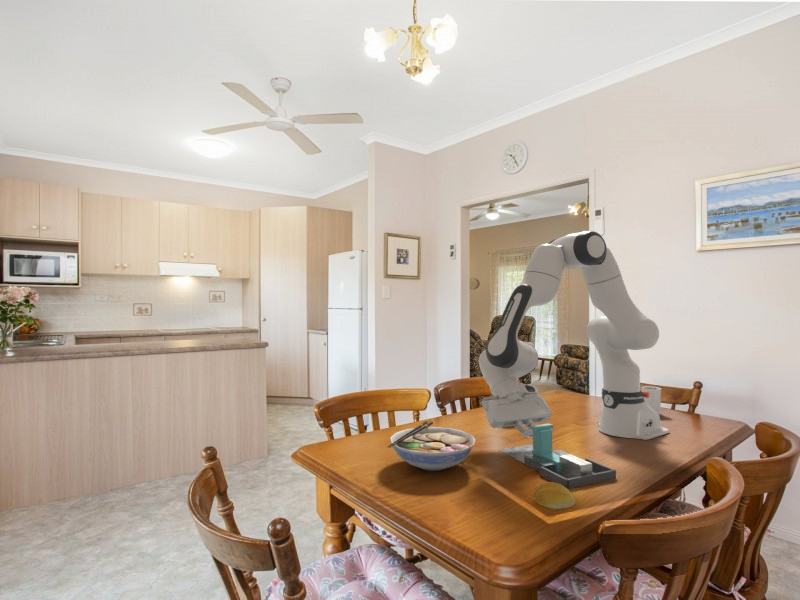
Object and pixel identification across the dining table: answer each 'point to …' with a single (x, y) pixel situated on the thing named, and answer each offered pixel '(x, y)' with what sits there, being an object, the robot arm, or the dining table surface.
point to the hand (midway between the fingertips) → (530, 436)
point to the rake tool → (544, 444)
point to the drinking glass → (653, 398)
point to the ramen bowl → (432, 446)
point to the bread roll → (553, 496)
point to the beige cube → (566, 463)
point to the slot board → (531, 457)
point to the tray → (597, 476)
